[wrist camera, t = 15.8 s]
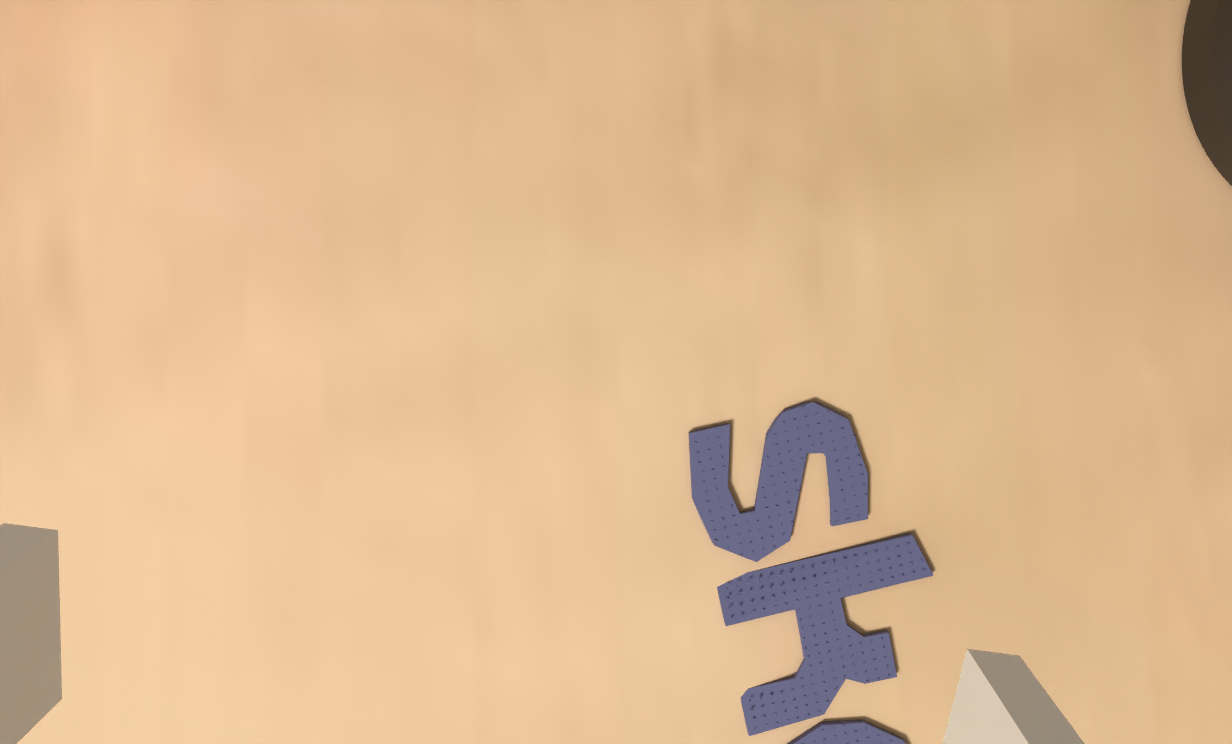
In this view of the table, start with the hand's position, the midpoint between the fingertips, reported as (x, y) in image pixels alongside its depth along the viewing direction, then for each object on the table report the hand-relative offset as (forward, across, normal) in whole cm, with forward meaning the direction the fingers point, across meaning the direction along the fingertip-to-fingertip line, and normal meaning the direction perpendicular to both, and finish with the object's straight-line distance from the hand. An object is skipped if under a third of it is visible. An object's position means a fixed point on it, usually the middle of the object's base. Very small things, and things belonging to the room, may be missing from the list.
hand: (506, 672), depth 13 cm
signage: (+25, +14, -16) cm, 33 cm away
